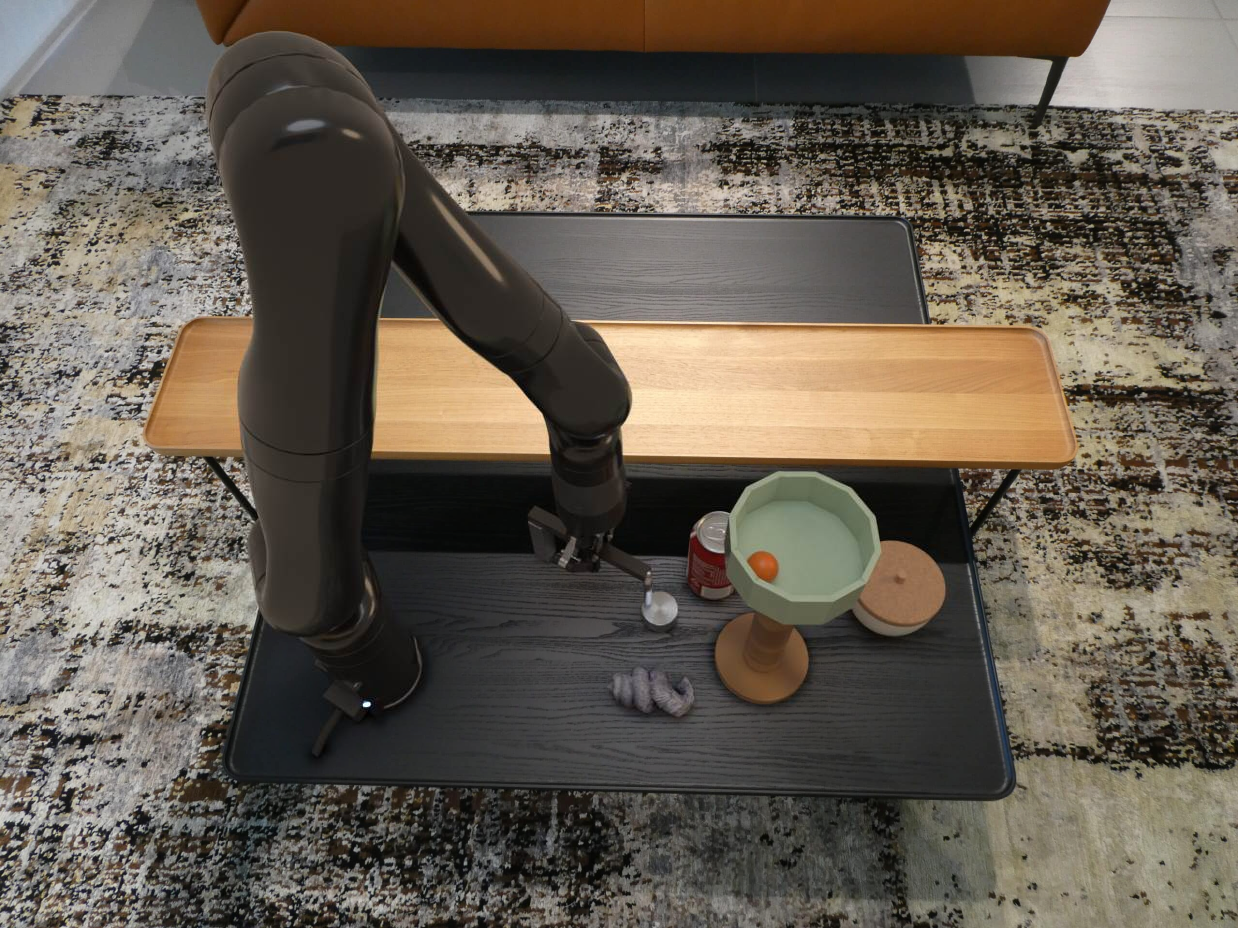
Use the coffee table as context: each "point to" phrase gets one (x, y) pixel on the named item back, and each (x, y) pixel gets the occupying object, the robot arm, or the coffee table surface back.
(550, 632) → the coffee table surface
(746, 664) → the stand
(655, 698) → the seashell
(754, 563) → the ball
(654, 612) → the ladle
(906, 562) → the trinket box
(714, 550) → the soda can
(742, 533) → the bowl
